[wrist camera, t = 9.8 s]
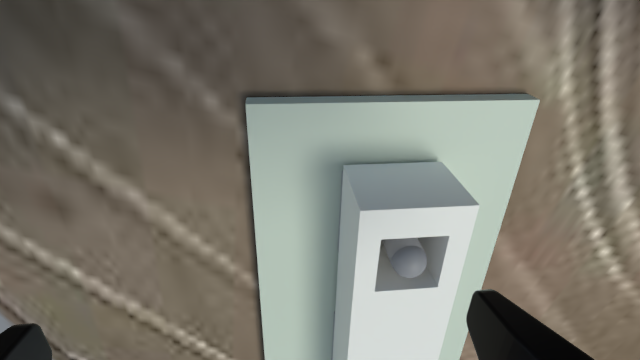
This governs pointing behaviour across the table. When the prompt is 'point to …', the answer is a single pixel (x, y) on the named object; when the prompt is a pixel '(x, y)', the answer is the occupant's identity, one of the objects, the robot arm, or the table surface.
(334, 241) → the post board
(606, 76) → the table surface
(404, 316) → the power strip bar
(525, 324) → the robot arm
